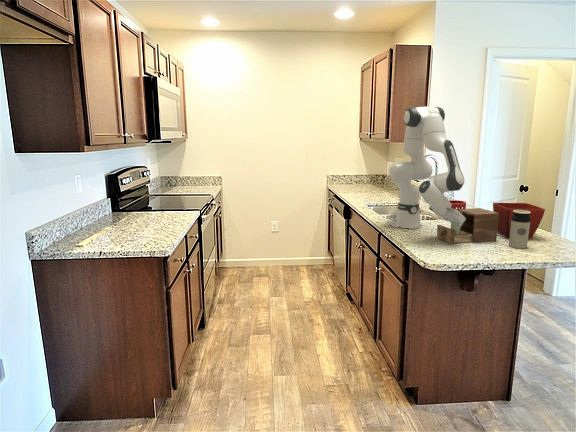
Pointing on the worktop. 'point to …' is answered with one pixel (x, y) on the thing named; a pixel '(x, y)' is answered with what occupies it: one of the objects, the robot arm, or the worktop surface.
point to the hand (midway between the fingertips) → (456, 224)
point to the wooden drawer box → (480, 224)
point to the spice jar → (455, 228)
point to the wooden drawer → (452, 235)
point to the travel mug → (519, 229)
